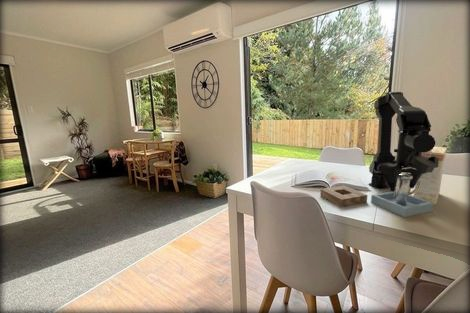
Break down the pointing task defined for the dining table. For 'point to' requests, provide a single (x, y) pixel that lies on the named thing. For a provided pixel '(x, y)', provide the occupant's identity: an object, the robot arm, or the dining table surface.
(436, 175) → the coffeecake box
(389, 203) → the tray
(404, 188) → the clear glass cylinder
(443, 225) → the dining table surface
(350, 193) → the socket block
